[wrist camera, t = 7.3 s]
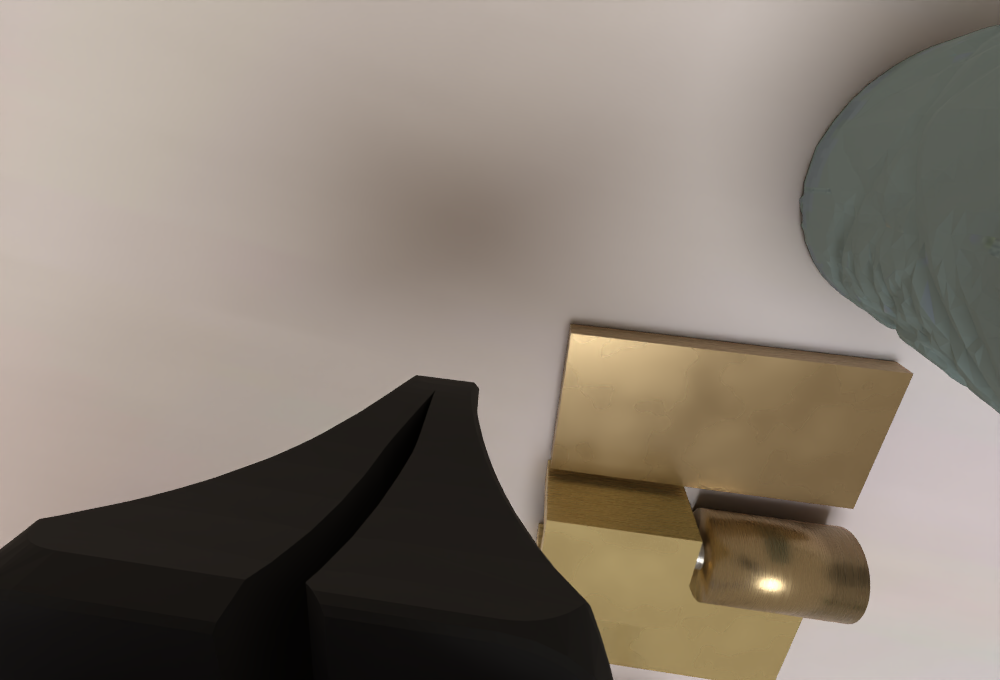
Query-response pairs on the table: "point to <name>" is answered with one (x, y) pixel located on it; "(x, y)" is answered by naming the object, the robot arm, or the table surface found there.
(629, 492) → the brass leaf
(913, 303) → the teal cup
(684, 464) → the bronze leaf with pin
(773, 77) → the table surface
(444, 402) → the robot arm
